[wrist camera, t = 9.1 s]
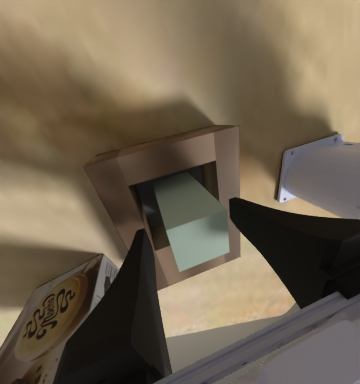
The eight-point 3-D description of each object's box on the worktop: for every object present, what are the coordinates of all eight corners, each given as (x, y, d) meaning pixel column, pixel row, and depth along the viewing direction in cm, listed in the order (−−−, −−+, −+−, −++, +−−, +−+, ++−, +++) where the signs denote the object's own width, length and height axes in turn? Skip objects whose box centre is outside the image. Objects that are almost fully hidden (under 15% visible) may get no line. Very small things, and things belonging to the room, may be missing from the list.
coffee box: (72, 309, 21) (-59, 705, 7) (33, 288, 18) (-373, 951, 4) (131, 278, 21) (125, 582, 7) (103, 251, 18) (-4, 699, 4)
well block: (215, 124, 15) (239, 125, 12) (224, 236, 23) (240, 256, 19) (96, 155, 14) (83, 166, 10) (148, 264, 21) (151, 293, 18)
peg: (187, 171, 16) (227, 209, 9) (192, 201, 18) (229, 251, 11) (151, 182, 16) (165, 230, 9) (161, 212, 18) (179, 272, 11)
